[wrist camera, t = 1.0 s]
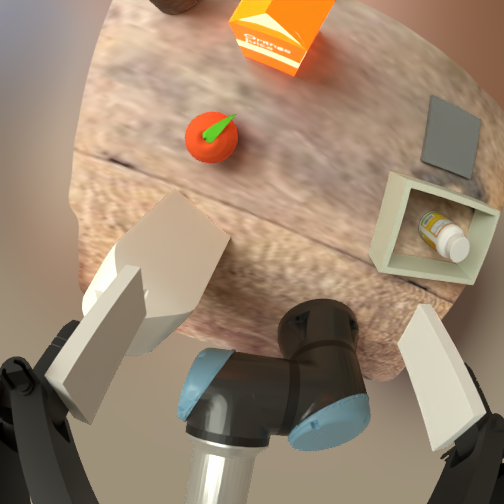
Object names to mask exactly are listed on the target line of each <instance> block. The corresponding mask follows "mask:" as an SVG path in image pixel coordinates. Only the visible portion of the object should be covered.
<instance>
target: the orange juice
mask: <svg viewBox="0 0 504 504" xmlns="http://www.w3.org/2000/svg"><path fill="white" fill-rule="evenodd" d="M334 2H335V0H241V2H240V3H239V5H238V7H237V8H236V10H235V12H234V13H233V15H232V17H231V19H230V20H229V24H230V26H231V28H232V30H233V32H234V34H235V36H236V40H237V42H238V44H239V45H240V47H241V50H242V52H243V54H244V56H245V57H248V58H251V59H253V60H256V61H259V62H261V63H264V64H266V65H269V66H271V67H274V68H276V69H278V70H281V71H283V72H285V73H288V74H290V75H292V76H295V74H296V72H297V70H298V68H299V66H300V64H301V62H302V60H303V58H304V57H305V55H306V53H307V51H308V49H309V47H310V45H311V43H312V42H313V40H314V38H315V36H316V34H317V32H318V31H320V30H319V29H320V27H321V25H322V23H323V21H324V20H325V18H326V16H327V14H328V12H329V11H330V9H331V7H332V5H333V4H334Z"/></svg>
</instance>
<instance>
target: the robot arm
mask: <svg viewBox="0 0 504 504" xmlns="http://www.w3.org/2000/svg"><path fill="white" fill-rule="evenodd" d="M146 314H147V313H146V306H145V299H144V291H143V283H142V275H141V267H136V266H130V265H125V267H124V268H123V269H122V270H121V271H120V273H119V274H118V275H117V276H116V277H115V279H114V280H113V281H112V282H111V284H110V285H109V286H108V287H107V289H106V290H105V291H104V292H103V294H102V295H101V296H100V297H99V299H98V300H97V301H96V303H95V304H94V305H93V307H92V308H91V309H90V310H89V312H88V313H87V314H86V316H85V317H84V318H83V320H82V321H81V322H79V321H76V320H72V321H71V322H69V323H68V324H66V325H65V326H64V327H63V328H62V329H61V330H60V332H59V333H58V335H57V337H56V338H54V340H53V341H52V343H51V345H49V347H48V348H47V349H46V351H45V352H44V354H43V355H42V357H41V358H40V360H39V361H38V362H37V364H36V366H35V367H34V369H33V370H32V368H31V366H30V365H29V363H28V362H27V361H26V360H25V359H24V358H22V357H12V358H9V359H8V360H6V361H5V362H4V363H3V364H2V366H1V368H0V504H31V502H30V497H31V500H32V503H33V504H99V503H98V501H97V498H96V496H95V494H94V492H93V490H92V487H91V485H90V483H89V481H88V478H87V476H86V473H85V471H84V468H83V465H82V463H81V460H80V457H79V454H78V452H77V449H76V446H75V443H74V439H73V436H72V433H71V430H70V426H69V423H68V420H67V418H66V415H67V413H68V411H70V413H71V414H72V415H73V417H74V418H76V419H78V420H80V421H82V422H85V423H87V424H89V425H91V424H92V422H93V419H94V417H95V415H96V413H97V411H98V409H99V406H100V404H101V402H102V400H103V398H104V396H105V394H106V392H107V389H108V387H109V385H110V383H111V381H112V379H113V377H114V375H115V373H116V371H117V369H118V367H119V365H120V363H121V361H122V359H123V357H124V355H125V354H126V352H127V350H128V348H129V346H130V344H131V342H132V340H133V338H134V336H135V335H136V333H137V331H138V329H139V327H140V325H141V323H142V322H143V320H144V318H145V316H146ZM357 340H358V324H357V321H356V318H355V316H354V314H353V312H352V311H351V309H350V308H349V307H347V306H346V305H345V304H343V303H341V302H338V301H335V300H331V299H315V300H310V301H306V302H303V303H301V304H299V305H297V306H295V307H294V308H292V309H291V310H290V311H288V312H287V313H286V314H285V316H284V317H283V318H282V320H281V322H280V324H279V327H278V344H279V347H280V350H281V352H282V354H283V356H284V358H285V359H283V358H275V357H267V356H260V355H254V354H247V353H242V352H236V350H234V349H232V350H224V349H217V348H206V349H204V350H202V351H201V352H200V353H199V354H198V355H197V357H196V358H195V360H194V362H193V364H192V366H191V368H190V371H189V373H188V375H187V378H186V381H185V383H184V386H183V389H182V392H181V396H180V400H179V406H178V410H177V416H178V418H179V419H181V420H182V421H184V422H186V421H187V426H186V432H185V434H186V435H187V437H188V438H189V439H190V440H191V442H192V443H193V445H194V450H193V456H192V461H191V467H190V473H189V478H188V485H187V491H186V497H185V503H184V504H246V502H247V498H248V492H249V488H250V482H251V477H252V472H253V466H254V461H255V457H256V455H257V454H259V453H260V452H262V451H263V450H265V449H267V448H268V445H269V439H270V436H271V435H281V436H288V441H289V442H290V445H291V446H292V447H293V448H295V449H299V450H301V451H317V450H324V449H328V448H332V447H336V446H339V445H341V444H343V443H346V442H348V441H350V440H352V439H353V438H355V437H357V436H358V435H359V434H360V433H361V432H363V431H364V430H365V428H366V427H367V426H368V424H369V421H370V417H371V416H370V407H369V397H368V395H367V392H366V388H365V384H364V381H363V377H362V373H361V369H360V366H359V362H358V359H357V355H356V347H357ZM398 347H399V349H400V352H401V354H402V357H403V360H404V362H405V365H406V368H407V370H408V373H409V376H410V379H411V382H412V384H413V387H414V390H415V393H416V396H417V399H418V403H419V406H420V409H421V412H422V415H423V419H424V422H425V425H426V429H427V433H428V436H429V440H430V443H431V447H432V451H436V450H440V449H443V448H446V447H447V446H448V445H450V444H451V443H452V442H455V446H454V447H453V448H451V449H450V450H449V451H447V452H446V453H445V454H443V455H442V457H441V458H440V459H443V458H445V457H446V456H447V455H449V457H448V458H446V459H445V461H446V464H445V467H444V469H443V472H442V474H441V476H440V478H439V481H438V483H437V485H436V487H435V489H434V491H433V493H432V495H431V498H430V499H429V501H428V503H427V504H504V463H502V459H503V458H504V418H503V417H502V416H501V415H499V414H497V413H494V414H492V412H491V411H490V408H489V406H488V403H487V401H486V399H485V397H484V394H483V392H482V390H481V388H479V386H480V385H479V383H478V381H476V377H475V375H474V373H473V371H472V370H471V369H470V367H469V366H468V365H467V364H466V363H464V362H463V361H462V359H461V357H460V355H459V353H458V351H457V349H456V347H455V345H454V343H453V342H452V340H451V338H450V336H449V334H448V333H447V331H446V329H445V327H444V326H443V324H442V322H441V321H440V319H439V317H438V316H437V314H436V312H435V311H434V309H433V307H432V306H431V304H419V305H418V307H417V309H416V311H415V313H414V315H413V317H412V319H411V320H410V322H409V324H408V326H407V328H406V330H405V331H404V333H403V335H402V337H401V338H400V340H399V342H398Z"/></svg>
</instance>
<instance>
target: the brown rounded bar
mask: <svg viewBox="0 0 504 504" xmlns="http://www.w3.org/2000/svg"><path fill="white" fill-rule="evenodd" d="M149 1H150V2H152V3H153V4H154V5H155V6H156V7H157V8H158V9H159V10H161V11H162V12H164V13H166V14H176V13H180V12H183V11H186V10H188V9H190V8H191V7H192V6H194V5H195V4H196V2H197V1H198V0H149Z"/></svg>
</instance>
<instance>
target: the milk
mask: <svg viewBox="0 0 504 504" xmlns="http://www.w3.org/2000/svg"><path fill="white" fill-rule="evenodd" d="M230 238H231V237H230V236H229V235H228V234H227V233H226V232H225V231H223V230H222V229H221V228H220V227H219V226H218V225H217V224H215V223H214V222H213V221H212V220H211V219H210V218H208V217H207V216H206V215H205V214H204V213H203V212H202V211H200V210H199V209H198V208H197V207H196V206H195V205H194V204H192V203H191V202H190V201H189V200H188V199H187V198H185V197H184V196H183V195H182V194H181V193H180V192H179V191H177V190H176V189H173V190H172V191H171V192H170V193H169V194H168V195H166V196H165V197H164V198H163V199H162V200H161V201H160V202H159V203H157V204H156V205H155V206H154V207H153V208H152V209H151V210H150V211H149V212H148V213H146V214H145V215H144V216H143V217H142V218H141V219H140V220H139V221H138V222H137V223H136V224H135V225H134V226H133V227H132V228H130V229H129V230H128V231H127V232H126V233H125V234H124V235H123V236H122V237H121V238H120V239H119V240H118V242H117V243H116V244H115V245H114V247H113V248H112V249H111V251H110V252H109V253H108V255H107V256H106V258H105V260H104V261H103V263H102V265H101V266H100V268H99V270H98V272H97V273H96V275H95V277H94V279H93V280H92V282H91V284H90V286H89V288H88V289H87V291H86V293H85V295H84V297H83V303H82V310H83V314H84V317H85V316H86V314H87V313H88V312H89V310H90V309H91V308H92V307H93V305H94V304H95V303H96V301H97V300H98V299H99V297H100V296H101V295H102V294H103V292H104V291H105V290H106V289H107V287H108V286H109V285H110V284H111V282H112V281H113V280H114V279H115V277H116V276H117V275H118V274H119V273H120V271H121V270H122V269H123V268H124V267H125V265H130V266H136V267H141V275H142V283H143V291H144V299H145V306H146V313H147V314H146V316H145V318H144V320H143V322H142V323H141V325H140V327H139V329H138V331H137V333H136V335H135V336H134V338H133V340H132V342H131V344H130V346H129V348H128V350H127V352H126V354H125V355H124V356H138V355H143V354H146V353H148V352H150V351H152V350H153V349H154V348H156V346H158V345H159V344H160V343H161V342H162V341H163V340H164V339H165V338H167V337H168V336H169V335H170V334H171V333H172V332H173V331H174V330H175V329H176V328H177V327H179V326H180V325H181V324H182V323H183V322H184V321H185V320H186V319H187V318H188V317H189V315H190V314H191V313H192V312H193V310H194V309H195V308H196V306H197V305H198V303H199V301H200V299H201V297H202V295H203V293H204V291H205V288H206V286H207V284H208V282H209V280H210V278H211V276H212V274H213V272H214V270H215V268H216V266H217V264H218V262H219V260H220V258H221V256H222V254H223V252H224V250H225V248H226V246H227V244H228V242H229V240H230Z"/></svg>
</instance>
